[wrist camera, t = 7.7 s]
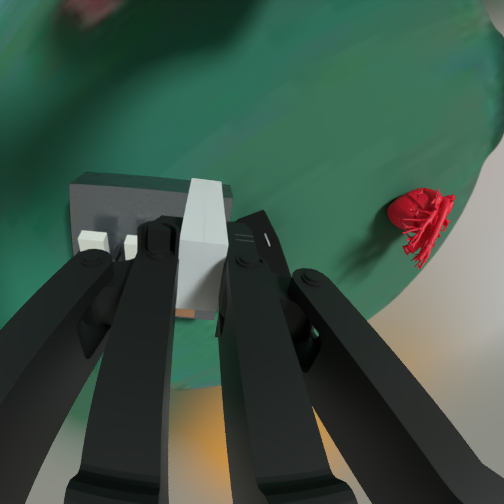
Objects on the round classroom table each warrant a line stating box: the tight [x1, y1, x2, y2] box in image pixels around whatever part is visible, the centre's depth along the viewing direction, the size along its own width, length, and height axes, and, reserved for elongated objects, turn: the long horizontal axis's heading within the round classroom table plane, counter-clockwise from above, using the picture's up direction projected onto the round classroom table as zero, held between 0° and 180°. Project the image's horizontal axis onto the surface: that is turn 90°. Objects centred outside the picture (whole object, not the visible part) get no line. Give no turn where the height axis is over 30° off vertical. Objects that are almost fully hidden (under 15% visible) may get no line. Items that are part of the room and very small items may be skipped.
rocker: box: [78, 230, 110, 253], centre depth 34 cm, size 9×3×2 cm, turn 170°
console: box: [69, 172, 233, 320], centre depth 39 cm, size 19×21×9 cm
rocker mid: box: [124, 235, 137, 260], centre depth 35 cm, size 9×3×2 cm, turn 170°
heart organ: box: [387, 188, 456, 269], centre depth 41 cm, size 10×12×12 cm
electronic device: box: [238, 210, 291, 278], centre depth 41 cm, size 4×10×10 cm, turn 19°
